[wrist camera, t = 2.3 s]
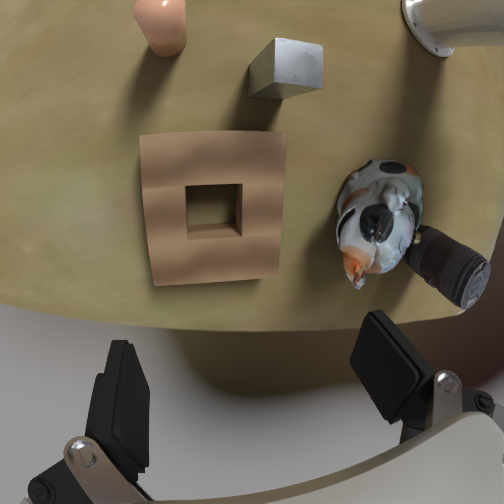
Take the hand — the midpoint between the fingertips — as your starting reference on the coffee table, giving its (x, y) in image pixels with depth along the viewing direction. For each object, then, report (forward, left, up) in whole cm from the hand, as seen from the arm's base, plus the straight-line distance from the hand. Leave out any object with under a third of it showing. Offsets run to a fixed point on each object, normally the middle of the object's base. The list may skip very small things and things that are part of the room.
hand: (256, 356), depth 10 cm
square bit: (-14, +6, -23) cm, 28 cm away
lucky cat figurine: (+2, +21, -24) cm, 31 cm away
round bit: (-19, -5, -23) cm, 30 cm away
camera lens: (+7, +33, -24) cm, 41 cm away
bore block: (0, 0, -23) cm, 23 cm away
